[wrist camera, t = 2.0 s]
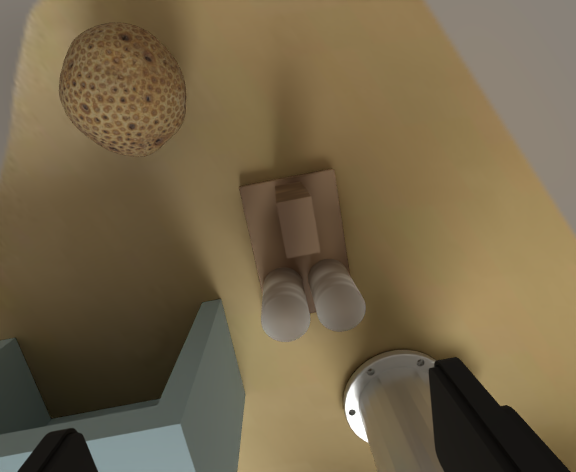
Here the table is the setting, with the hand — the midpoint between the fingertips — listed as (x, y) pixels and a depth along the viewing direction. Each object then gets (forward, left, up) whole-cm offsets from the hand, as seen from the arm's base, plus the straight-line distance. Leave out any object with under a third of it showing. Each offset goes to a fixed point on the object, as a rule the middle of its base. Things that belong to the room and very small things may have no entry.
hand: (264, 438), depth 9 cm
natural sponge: (+8, -13, -27) cm, 31 cm away
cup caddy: (-2, +3, -27) cm, 27 cm away
